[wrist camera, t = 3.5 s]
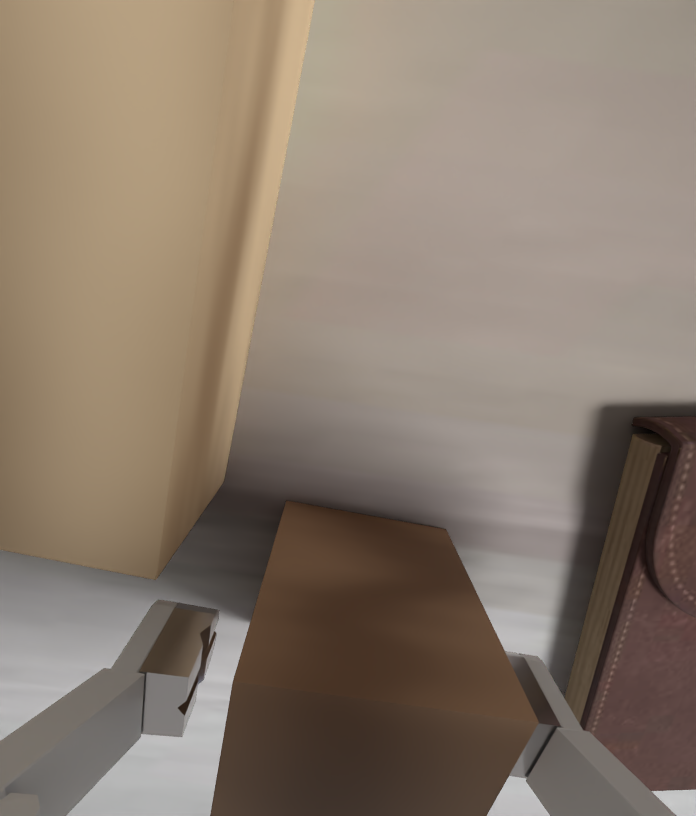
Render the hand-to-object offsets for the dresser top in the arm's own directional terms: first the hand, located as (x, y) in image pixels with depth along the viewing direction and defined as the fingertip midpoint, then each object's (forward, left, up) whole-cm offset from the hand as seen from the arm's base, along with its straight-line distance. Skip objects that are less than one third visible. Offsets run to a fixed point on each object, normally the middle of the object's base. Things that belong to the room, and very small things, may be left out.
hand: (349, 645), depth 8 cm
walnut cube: (0, 0, -2) cm, 2 cm away
